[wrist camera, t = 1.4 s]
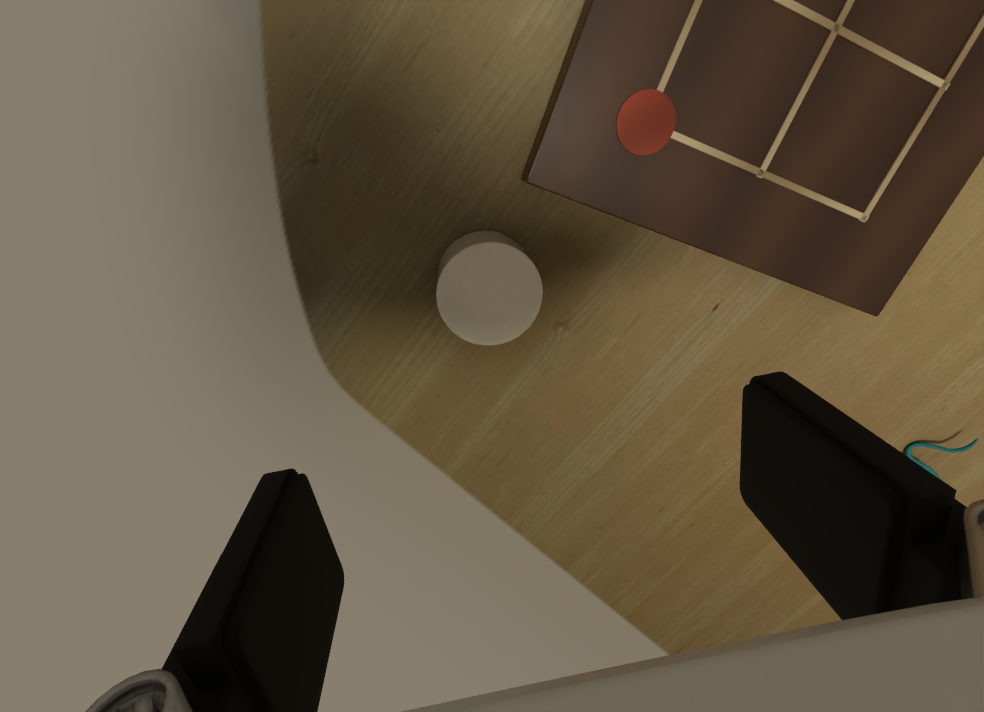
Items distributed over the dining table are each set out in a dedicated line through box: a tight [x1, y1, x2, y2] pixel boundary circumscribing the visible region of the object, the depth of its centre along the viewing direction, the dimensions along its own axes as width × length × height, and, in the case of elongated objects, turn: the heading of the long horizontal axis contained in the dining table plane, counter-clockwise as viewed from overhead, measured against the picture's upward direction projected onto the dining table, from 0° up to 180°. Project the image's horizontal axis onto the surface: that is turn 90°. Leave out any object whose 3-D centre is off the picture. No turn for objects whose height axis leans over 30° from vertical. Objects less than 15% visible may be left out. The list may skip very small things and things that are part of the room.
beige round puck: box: [436, 231, 543, 345], centre depth 24 cm, size 5×5×3 cm
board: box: [522, 0, 984, 316], centre depth 22 cm, size 20×20×2 cm
